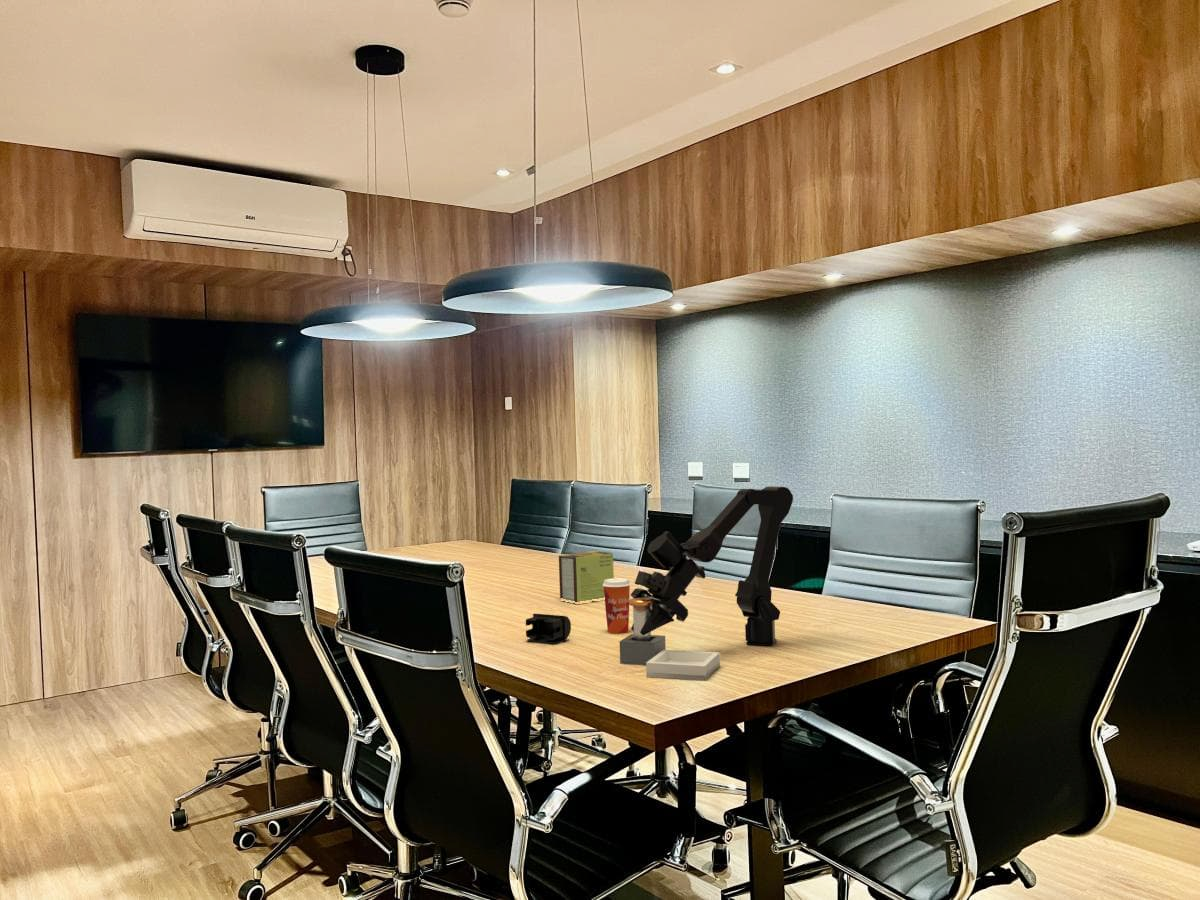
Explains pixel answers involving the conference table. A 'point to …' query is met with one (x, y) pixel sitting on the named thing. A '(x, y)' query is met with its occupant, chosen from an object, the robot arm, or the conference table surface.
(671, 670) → the tray
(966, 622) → the conference table surface
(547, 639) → the end cap
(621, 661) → the block
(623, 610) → the paper cup
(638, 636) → the hitch pin
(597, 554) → the protein box
